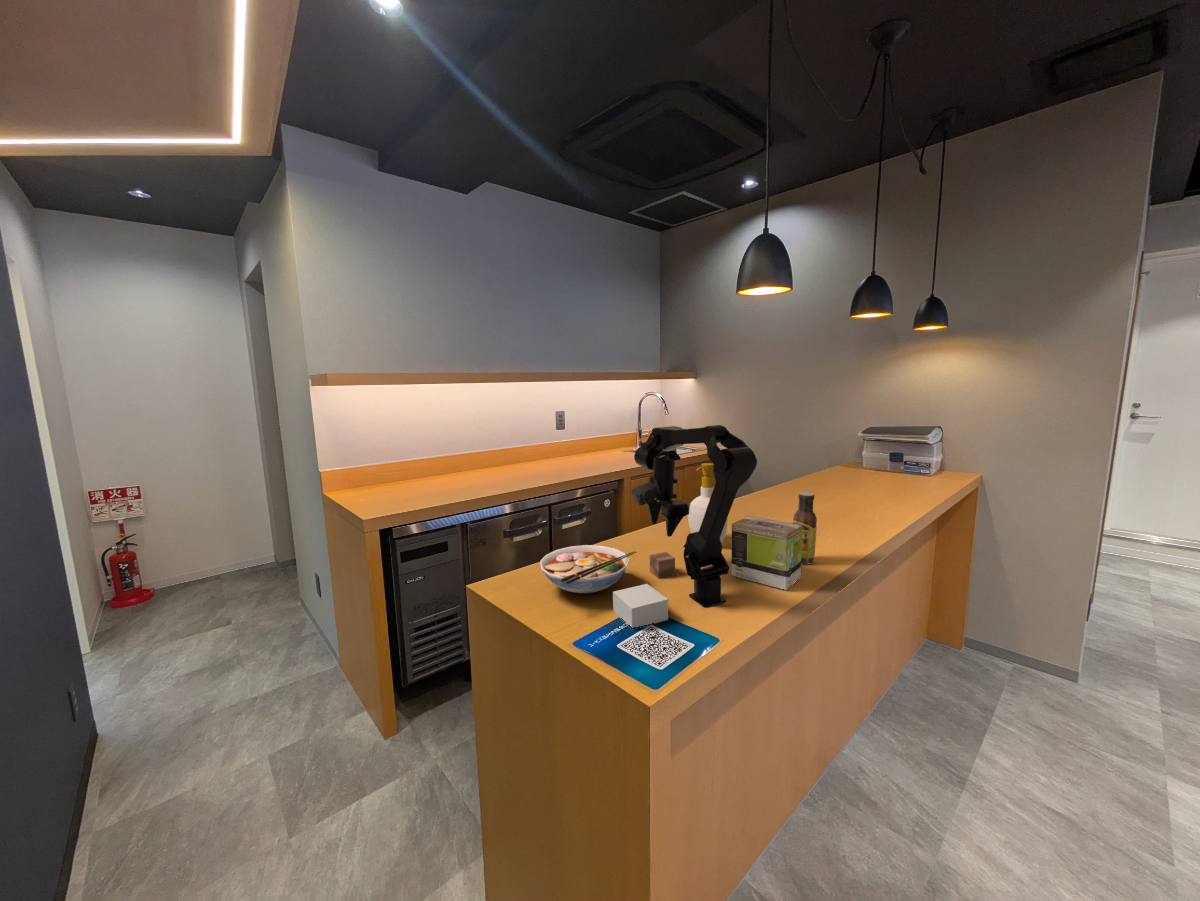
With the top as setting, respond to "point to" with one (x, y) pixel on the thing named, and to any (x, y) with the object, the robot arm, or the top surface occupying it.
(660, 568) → the walnut cube
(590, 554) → the ramen bowl
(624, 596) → the light grey block
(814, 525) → the sauce bottle
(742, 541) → the tea box
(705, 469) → the soap bottle
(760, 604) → the top surface
